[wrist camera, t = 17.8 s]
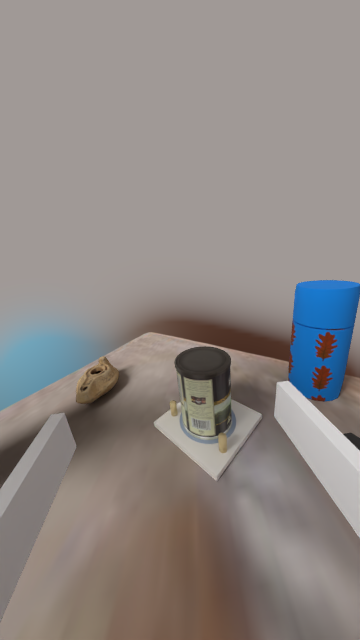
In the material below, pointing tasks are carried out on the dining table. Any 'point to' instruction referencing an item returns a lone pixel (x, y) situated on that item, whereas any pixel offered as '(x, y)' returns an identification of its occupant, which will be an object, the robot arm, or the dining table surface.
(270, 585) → the dining table surface
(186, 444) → the pin jig
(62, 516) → the dining table surface
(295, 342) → the thermos
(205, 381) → the coffee can
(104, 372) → the oil lamp
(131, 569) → the dining table surface
